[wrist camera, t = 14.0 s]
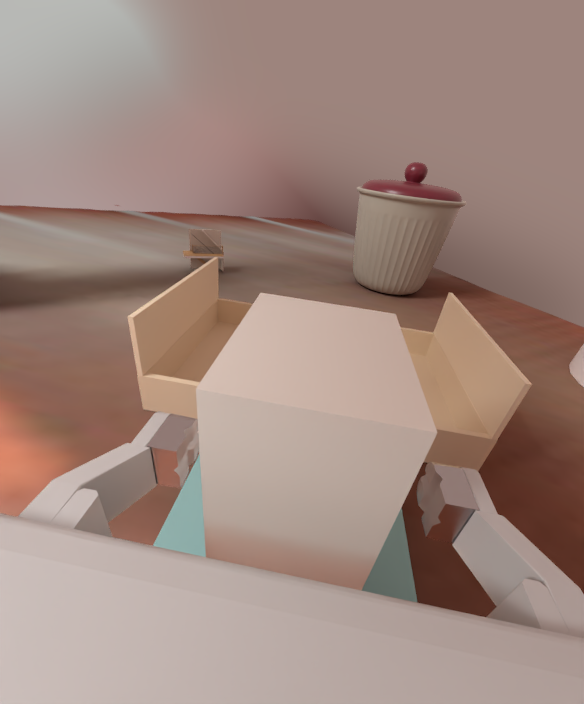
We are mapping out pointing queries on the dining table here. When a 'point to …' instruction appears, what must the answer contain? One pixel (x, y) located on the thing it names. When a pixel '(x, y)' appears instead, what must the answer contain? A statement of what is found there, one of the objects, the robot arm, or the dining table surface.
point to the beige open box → (424, 347)
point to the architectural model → (204, 247)
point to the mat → (188, 537)
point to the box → (309, 439)
